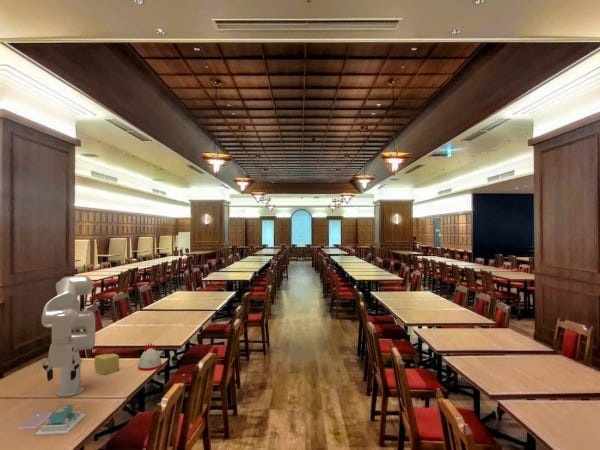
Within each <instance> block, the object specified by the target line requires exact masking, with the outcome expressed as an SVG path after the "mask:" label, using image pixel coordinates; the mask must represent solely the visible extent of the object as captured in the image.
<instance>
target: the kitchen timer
mask: <svg viewBox="0 0 600 450" xmlns="http://www.w3.org/2000/svg"><path fill="white" fill-rule="evenodd" d="M142 348H143V350H144V351H143V352H142V354H141V355H140V357H139V360H138V364H137V367H138V368H137V369H138V370H139V371H143V372H144V371H145V372H150V371H155V370H158V369H160V368H162V359H161V356H160V354H159V352H158V351H157V350H156V349H157V345H155V344H152V343H147V344H145V345H144V346H143V347H142Z"/></svg>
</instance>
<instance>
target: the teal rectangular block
mask: <svg viewBox="0 0 600 450" xmlns="http://www.w3.org/2000/svg"><path fill="white" fill-rule="evenodd" d="M73 405H74V404H62V405H60V406H58V407H57V408H56V409H55V410H54V411H53V412H51V413H52V414H51V415H50V416H49V421H50V425H65V419H66V418H68V422H69V421H70V420H71V419H72V418H73V411H74V410H73V407H74V406H73Z"/></svg>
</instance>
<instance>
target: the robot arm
mask: <svg viewBox="0 0 600 450" xmlns="http://www.w3.org/2000/svg"><path fill="white" fill-rule="evenodd" d="M93 286H94V285H93V281H92V279H91V278H90V277H89V276H86V275H75V276H73V275H72V276H65V277H63V278H61V279H60V280H59V281H57V283H55V290H56V293H57V294H56V296H54V297H52V298H51V299H50V300H49V301H47V302H46V304H45V305H44V307H43V311H42V313H41V314H42V315H41V325H42V326H43V327H45V328H51V344H50V346H49V350H48V357H47V358H45V359H43V360H41V361H40V364H41V366H42V368H43V370H45V372H46V379H47V382H50V381H51V380H53V378H54V368H55V369H56V368H60V369H59V379H60V380H59V381H60V382H59V385H60V386H59V390H58V391H57V392H56V396H58V397H61V398H62V397H63V398H64V397H65V398H66V397H73V396H76V395H79V394H81V393H83V392H84V389H85V388H84V386H82V385H81V384H82V382H83V379H82V378H81V377H82V376H81V372H82V371H81V369H82V368H81V364H82V363H83V359H82V358H81V356H80V354H78V351H83V350H90V349H93V348H94V347H95V344H96V317H95V316H96V315H95V313H94V312H93V311H92V310H81V302H80V300H79V299H78V298H77V296H87V295H90V294H91V293H92V292H93V288H94V287H93ZM75 330H77V331H75ZM78 330H83V331H78ZM84 330H85V331H84ZM72 331H74V332H72Z"/></svg>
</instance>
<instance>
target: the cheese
mask: <svg viewBox="0 0 600 450" xmlns="http://www.w3.org/2000/svg"><path fill="white" fill-rule="evenodd" d="M94 370H95V373H97V374H99V375H102V376H106V375H107V376H108V375H110V374H113V373H117V372H119V371H120V357H119V355H118V354H116V353H104V354H99V355H95V356H94Z"/></svg>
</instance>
